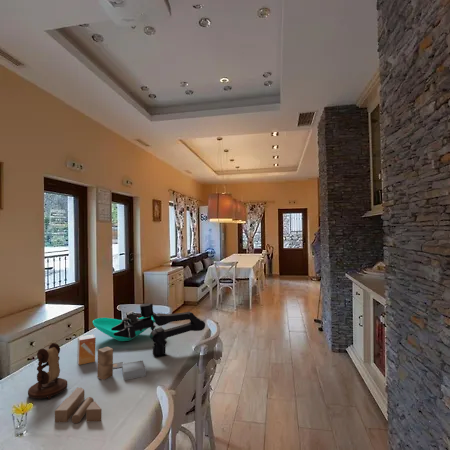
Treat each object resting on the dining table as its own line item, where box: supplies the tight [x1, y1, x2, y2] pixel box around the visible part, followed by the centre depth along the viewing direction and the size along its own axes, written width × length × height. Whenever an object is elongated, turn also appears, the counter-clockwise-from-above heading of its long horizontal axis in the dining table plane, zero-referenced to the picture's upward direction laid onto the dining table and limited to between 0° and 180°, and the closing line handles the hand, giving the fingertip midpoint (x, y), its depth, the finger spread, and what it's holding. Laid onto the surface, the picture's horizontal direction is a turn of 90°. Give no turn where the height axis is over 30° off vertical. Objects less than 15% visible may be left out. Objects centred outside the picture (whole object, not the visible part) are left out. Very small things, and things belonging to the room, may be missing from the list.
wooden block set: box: [54, 387, 103, 424], centre depth 118 cm, size 17×6×18 cm
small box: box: [76, 333, 96, 366], centre depth 162 cm, size 8×6×13 cm
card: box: [113, 361, 124, 370], centre depth 156 cm, size 8×6×1 cm
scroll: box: [27, 342, 68, 400], centre depth 130 cm, size 15×15×20 cm
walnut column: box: [96, 346, 114, 381], centre depth 145 cm, size 5×5×13 cm
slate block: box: [121, 359, 147, 381], centre depth 148 cm, size 10×10×4 cm
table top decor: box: [92, 316, 155, 342], centre depth 195 cm, size 40×28×13 cm
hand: (112, 331), depth 159 cm, fingers open, 9 cm apart
